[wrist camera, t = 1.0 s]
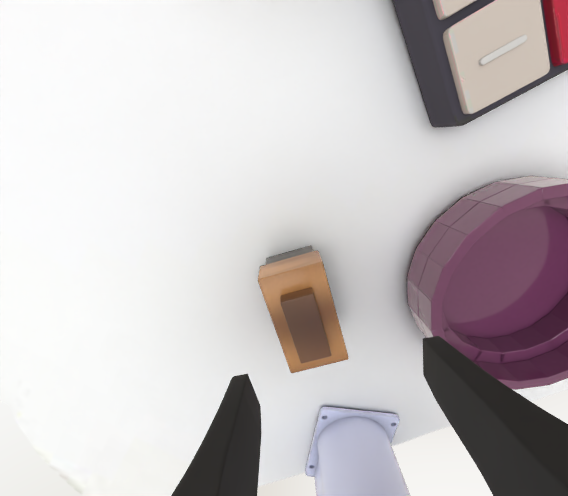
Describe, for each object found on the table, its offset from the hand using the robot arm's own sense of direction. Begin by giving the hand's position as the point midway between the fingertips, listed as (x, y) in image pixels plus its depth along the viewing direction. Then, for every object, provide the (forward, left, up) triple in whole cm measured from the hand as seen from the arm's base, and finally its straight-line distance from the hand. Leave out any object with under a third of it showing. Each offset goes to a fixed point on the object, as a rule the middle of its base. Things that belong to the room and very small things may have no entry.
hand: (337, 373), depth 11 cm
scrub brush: (-3, 0, -12) cm, 12 cm away
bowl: (+1, -16, -12) cm, 20 cm away
